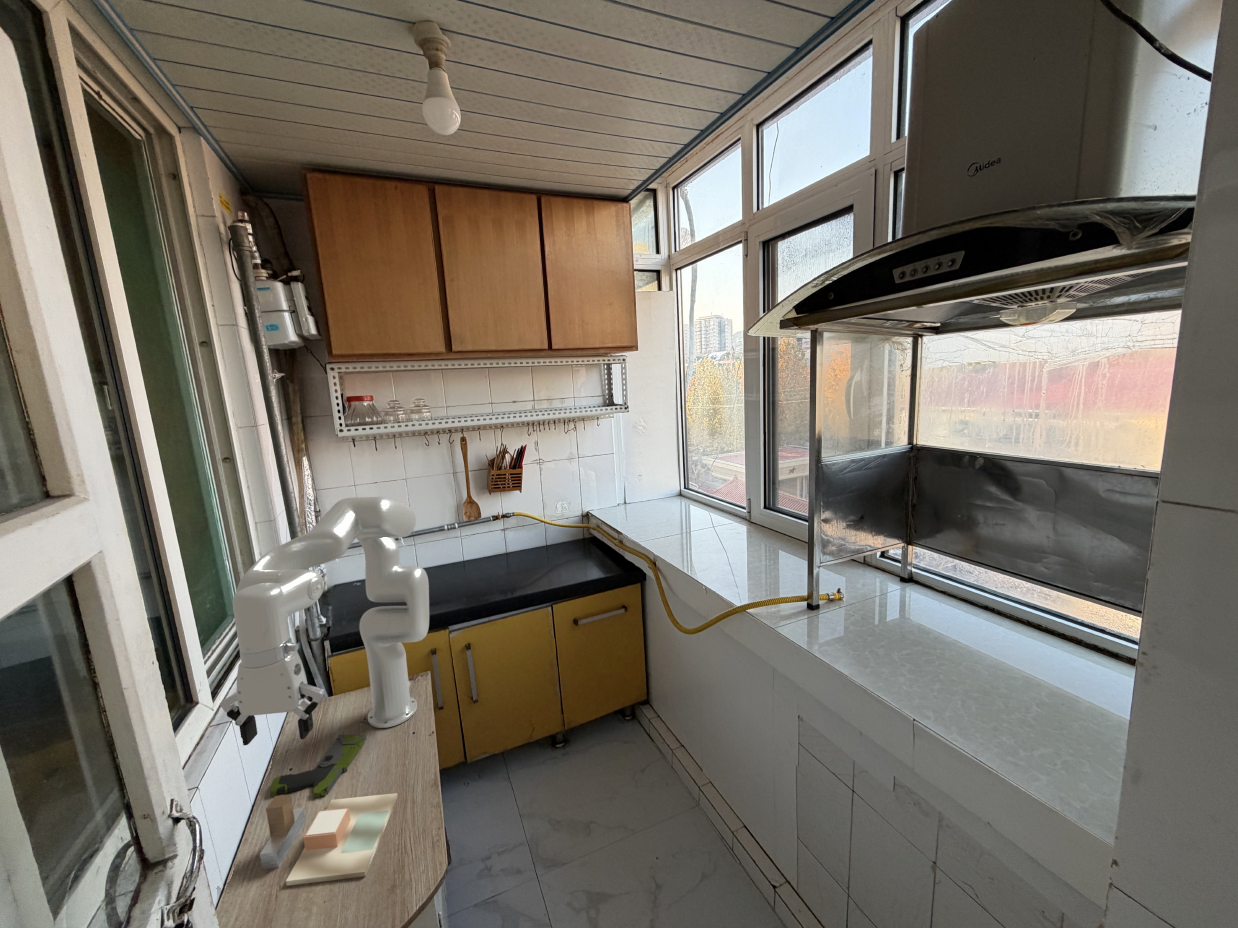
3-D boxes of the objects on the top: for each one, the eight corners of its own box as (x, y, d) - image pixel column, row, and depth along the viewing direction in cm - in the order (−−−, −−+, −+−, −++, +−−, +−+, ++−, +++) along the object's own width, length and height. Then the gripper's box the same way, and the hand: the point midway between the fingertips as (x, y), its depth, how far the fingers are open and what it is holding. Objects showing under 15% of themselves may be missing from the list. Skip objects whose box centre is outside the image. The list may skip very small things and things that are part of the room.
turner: (291, 823, 104) (284, 781, 102) (306, 821, 104) (299, 780, 102) (262, 869, 94) (254, 824, 92) (278, 867, 94) (271, 822, 93)
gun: (312, 741, 128) (370, 740, 129) (262, 801, 110) (330, 800, 110) (311, 733, 128) (369, 731, 129) (261, 791, 109) (329, 790, 110)
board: (332, 803, 108) (331, 799, 108) (397, 796, 110) (397, 792, 110) (286, 885, 91) (285, 880, 90) (365, 875, 92) (364, 871, 92)
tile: (320, 823, 102) (318, 810, 102) (350, 820, 103) (348, 807, 102) (305, 850, 96) (303, 836, 96) (337, 846, 97) (335, 832, 96)
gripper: (326, 637, 94) (336, 718, 96) (228, 645, 91) (241, 728, 94) (307, 658, 86) (318, 746, 89) (199, 667, 84) (214, 757, 87)
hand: (278, 736), depth 91 cm, fingers open, 9 cm apart
